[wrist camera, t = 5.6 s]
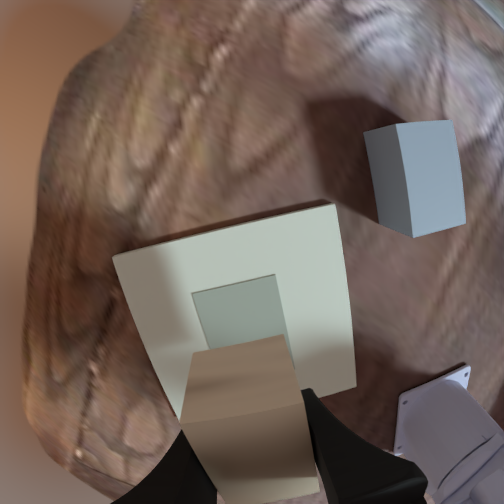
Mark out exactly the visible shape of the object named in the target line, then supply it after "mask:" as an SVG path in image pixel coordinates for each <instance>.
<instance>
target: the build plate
mask: <svg viewBox="0 0 504 504" xmlns="http://www.w3.org/2000/svg"><path fill="white" fill-rule="evenodd" d="M112 260H113V263H114V266H115V269H116V272H117V275H118V278H119V281H120V284H121V287H122V289H123V292H124V295H125V298H126V301H127V303H128V306H129V309H130V311H131V314H132V317H133V319H134V322H135V324H136V327H137V329H138V332H139V334H140V337H141V339H142V342H143V344H144V346H145V349H146V351H147V354H148V356H149V358H150V360H151V363H152V365H153V367H154V369H155V372H156V374H157V376H158V378H159V380H160V383H161V385H162V387H163V389H164V391H165V393H166V395H167V397H168V399H169V401H170V403H171V405H172V407H173V409H174V411H175V413H176V415H177V417H178V419H179V421H180V416H181V411H182V406H183V400H184V395H185V390H186V385H187V380H188V374H189V369H190V364H191V359H192V354H193V353H194V352H199V351H205V350H210V349H215V348H220V347H225V346H230V345H235V344H240V343H245V342H250V341H254V340H259V339H263V338H268V337H272V336H276V335H281V334H284V337H285V341H286V344H287V347H288V350H289V354H290V357H291V360H292V364H293V367H294V370H295V374H296V377H297V380H298V384H299V387H300V390H303V389H307V388H311V389H313V391H314V393H315V394H316V396H317V397H318V398H320V397H324V396H327V395H331V394H334V393H338V392H341V391H344V390H348V389H351V388H354V387H357V385H356V369H355V355H354V343H353V332H352V321H351V312H350V303H349V294H348V286H347V278H346V270H345V263H344V256H343V249H342V243H341V236H340V230H339V224H338V218H337V212H336V207H335V204H334V203H330V204H325V205H320V206H316V207H311V208H307V209H302V210H297V211H293V212H288V213H284V214H280V215H275V216H271V217H266V218H262V219H258V220H253V221H249V222H245V223H241V224H236V225H232V226H228V227H224V228H220V229H215V230H211V231H207V232H203V233H199V234H195V235H191V236H187V237H183V238H179V239H175V240H171V241H167V242H163V243H159V244H155V245H151V246H147V247H143V248H140V249H136V250H132V251H128V252H124V253H121V254H117V255H114V256H113V257H112Z"/></svg>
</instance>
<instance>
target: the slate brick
mask: <svg viewBox="0 0 504 504" xmlns="http://www.w3.org/2000/svg"><path fill="white" fill-rule="evenodd" d="M363 135H364V139H365V144H366V149H367V154H368V159H369V164H370V170H371V175H372V181H373V187H374V193H375V199H376V206H377V213H378V220H379V224H380V225H383V226H385V227H388V228H390V229H393V230H395V231H397V232H400V233H402V234H405V235H407V236H410V237H412V238H415V237H418V236H422V235H426V234H429V233H433V232H437V231H440V230H444V229H448V228H451V227H455V226H459V225H462V224H466V218H465V204H464V193H463V184H462V175H461V168H460V161H459V154H458V148H457V142H456V137H455V132H454V126H453V122H452V120H440V121H424V122H412V123H400V124H393V125H389V126H386V127H382V128H378V129H374V130H370V131H367V132H363Z"/></svg>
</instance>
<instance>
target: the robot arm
mask: <svg viewBox="0 0 504 504" xmlns="http://www.w3.org/2000/svg"><path fill="white" fill-rule="evenodd" d="M470 369H471V367H470V365H468V364H466V365H464V366H462V367H460V368H458V369H456V370H454V371H452V372H450V373H448V374H446V375H444V376H441V377H439V378H437V379H435V380H433V381H430V382H428V383H426V384H423V385H421V386H419V387H416V388H414V389H411V390H409V391H406V392H404V393H402V394H401V395H400V396H399V403H398V415H397V426H396V435H395V443H394V451H393V453H394V455H392V454H390V453H388V452H385V451H383V450H381V449H380V448H378V447H376V446H374V445H372V444H370V443H368V442H367V441H365V440H364V439H362V438H361V437H359V436H358V435H356V434H355V433H354V432H352V431H351V430H350V429H348V428H347V427H346V426H345V425H344V424H342V423H341V422H340V421H339V420H338V419H337V418H336V417H335V416H334V415H333V414H332V413H331V412H330V411H329V410H328V409H327V408H326V407H325V406H324V404H323V403H322V402H321V401H320V400H319V398H318V397H317V396H316V394H315V393H314V391H313V389H311V388H307V389H303V390H301V394H302V397H303V400H304V405H305V410H306V416H307V421H308V427H309V432H310V438H311V444H312V449H313V455H314V460H315V463H316V465H317V468H318V470H319V473H320V475H321V478H322V481H323V484H324V488H325V492H326V496H327V499H328V503H329V504H427V502H426V500H425V498H424V494H425V492H426V493H427V494H429V495H430V496H432V498H433V500H434V502H435V504H504V431H503V430H502V429H501V427H500V426H499V425H498V424H497V423H496V422H495V421H494V420H493V418H492V417H491V416H490V415H489V414H488V413H487V412H486V411H485V410H484V408H483V407H482V406H481V405H480V404H479V403H478V402H477V401H476V400H475V399H474V398H473V396H472V395H471V394H470V393H469V392H468V391H467V390H466V389H467V384H468V379H469V374H470ZM400 454H404V455H405V457H406V459H407V460H406V459H403V458H400V457H397V456H398V455H400ZM111 504H217V489H216V487H215V485H214V484H213V482H212V481H211V479H210V477H209V476H208V474H207V473H206V471H205V469H204V468H203V466H202V464H201V462H200V461H199V459H198V457H197V456H196V454H195V452H194V450H193V449H192V447H191V445H190V443H189V441H188V440H187V438H186V436H185V434H184V432H183V430H182V429H181V431H180V433H179V434H178V436H177V438H176V439H175V441H174V443H173V444H172V446H171V447H170V449H169V450H168V451H167V453H166V454H165V456H164V457H163V458H162V460H161V461H160V462H159V463H158V464H157V466H156V467H155V468H154V469H153V470H152V471H151V472H150V473H149V474H148V475H147V476H146V477H145V478H144V479H143V480H142V481H141V482H140V483H139V484H138V485H137V486H135V487H134V488H133V489H132V490H130V491H129V492H128V493H126V494H125V495H123V496H122V497H120V498H119V499H117V500H116V501H114V502H112V503H111Z"/></svg>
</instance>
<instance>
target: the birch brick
mask: <svg viewBox="0 0 504 504" xmlns="http://www.w3.org/2000/svg"><path fill="white" fill-rule="evenodd" d="M179 425H180V427H181V428H182V430H183V432H184V434H185V436H186V438H187V440H188V441H189V443H190V445H191V447H192V449H193V450H194V452H195V454H196V456H197V457H198V459H199V461H200V462H201V464H202V466H203V468H204V469H205V471H206V473H207V474H208V476H209V477H210V479H211V481H212V482H213V484H214V485H215V487H216V489H217V490H218V492H219V493H220V495H221V496H222V498H223V499H224V501H225V502H226V504H261V503H268V502H274V501H280V500H285V499H290V498H295V497H300V496H304V495H309V494H313V493H317V492H320V490H319V484H318V478H317V472H316V466H315V461H314V455H313V449H312V444H311V438H310V432H309V427H308V421H307V416H306V410H305V405H304V400H303V397H302V394H301V390H300V387H299V384H298V380H297V377H296V374H295V370H294V367H293V364H292V360H291V357H290V354H289V350H288V347H287V344H286V341H285V337H284V334H281V335H276V336H272V337H268V338H263V339H259V340H254V341H250V342H245V343H240V344H235V345H230V346H225V347H220V348H215V349H210V350H205V351H199V352H194V353H193V354H192V359H191V364H190V369H189V374H188V380H187V385H186V390H185V395H184V400H183V406H182V411H181V416H180V422H179Z"/></svg>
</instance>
